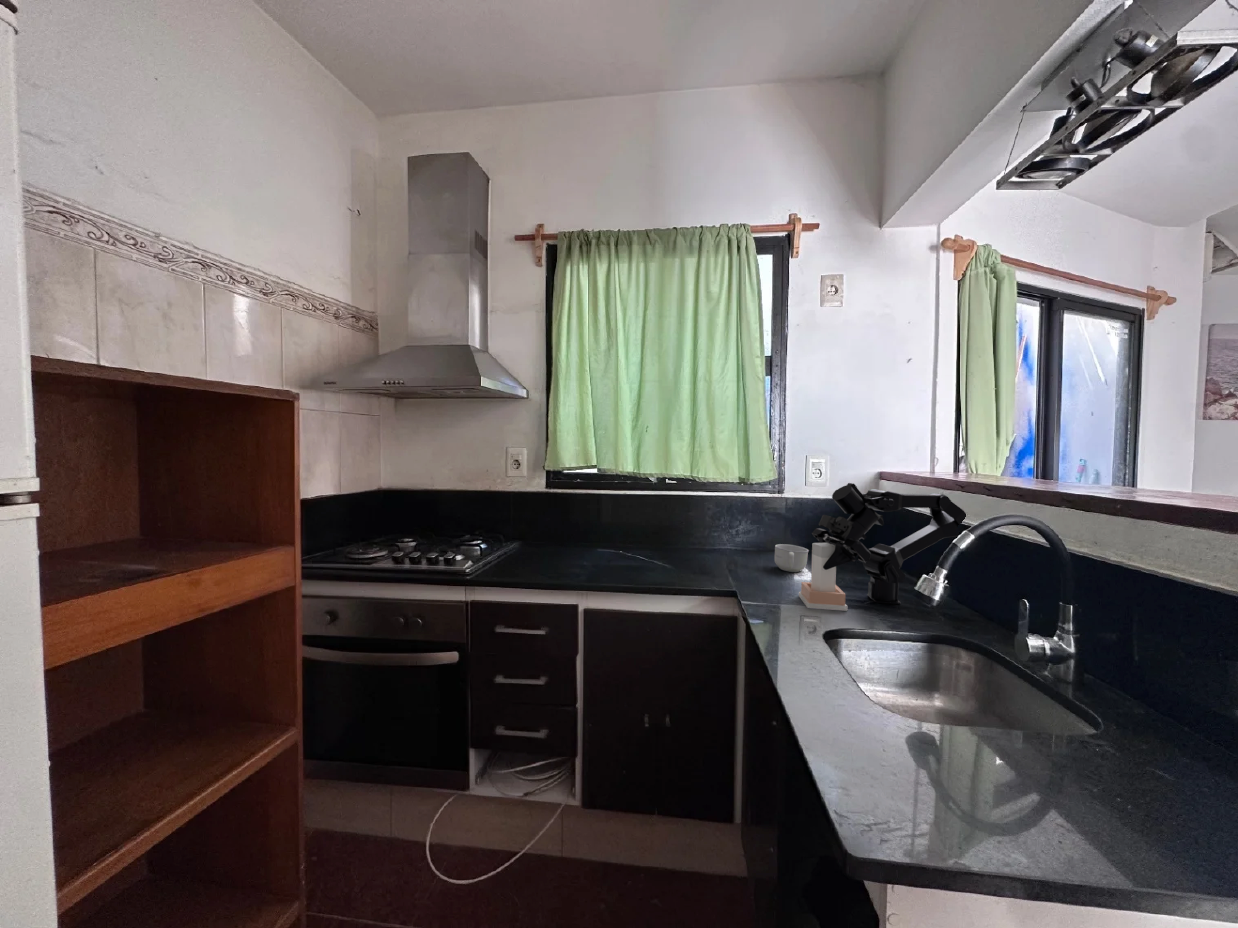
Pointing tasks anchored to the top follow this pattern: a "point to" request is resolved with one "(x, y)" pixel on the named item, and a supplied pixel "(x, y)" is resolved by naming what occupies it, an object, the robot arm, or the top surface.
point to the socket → (822, 598)
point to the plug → (820, 576)
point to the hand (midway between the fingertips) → (819, 566)
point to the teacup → (790, 557)
